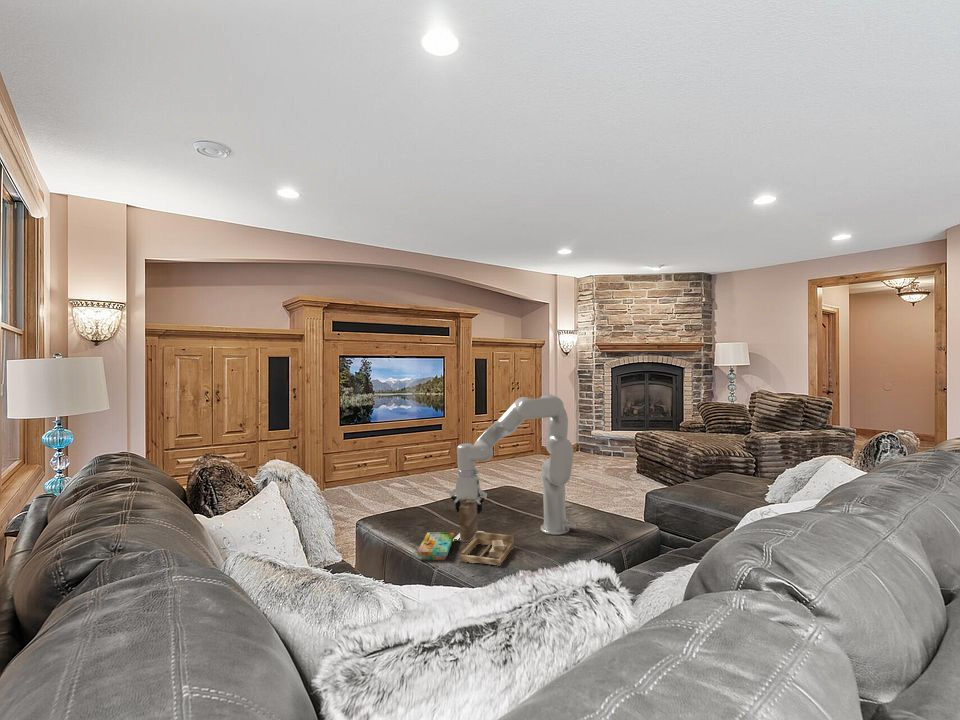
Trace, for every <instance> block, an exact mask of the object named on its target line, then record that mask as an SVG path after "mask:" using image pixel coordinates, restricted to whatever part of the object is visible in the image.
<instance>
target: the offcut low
mask: <svg viewBox="0 0 960 720" xmlns="http://www.w3.org/2000/svg"><path fill="white" fill-rule="evenodd" d="M506 547H507V546H506V545H504V550H505V549H506ZM502 553H503V551H497V552H494V550H493V547H492V546H491V548H490V549H489V550H488V554H489V556H492V557H499V556H500V555H501V554H502Z"/></svg>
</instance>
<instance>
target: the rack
mask: <svg viewBox="0 0 960 720" xmlns="http://www.w3.org/2000/svg"><path fill="white" fill-rule="evenodd" d="M514 536H515V535H513V534H504V533H503V534H501V533H492V532H485V531H483V532H475V538H474V539H473V540H472V541H471V542H470V543H468V545H466V547H465V548H463V550H461V552H460V555H459V563H460V562H461V563H467V562H469V563H468V564H474V563H485V564H494V565H500V564H501V563H502V562H503V560H504V559H505V557H506V556H507V555H508V553H509V552H510V551H511V550H512V548H513V547H514V548H515V544H514V543H515V540H514V539H515V538H514ZM492 540H502V541H503V544H504V545H506V546H507V547H506V549H505V550H504V551H503V553H502V554H501V555H500V556H499V558H498V559H495V558H489V557H485V556H483V557H482V555H483V554H484V553H485V552H486V550H487V549H488V548H489V547H490V546H491V545H492ZM478 543H480V544H489V545H488V546H486V548H485V549H484V550H483V552H481V554H480V555H479V556H478V555H470V554H471V553H472V552H473V551H472V549H473V548H474V547H475V546H476V545H477V544H478ZM491 547H492V546H491ZM514 548H513V549H514ZM471 551H472V552H471ZM512 551H513V550H512ZM512 551H511V552H512ZM470 552H471V553H470ZM511 552H510V553H511ZM469 553H470V554H469ZM468 554H469V555H468ZM508 556H509V555H508ZM505 560H506V559H505ZM503 563H504V562H503ZM503 563H502V564H503Z"/></svg>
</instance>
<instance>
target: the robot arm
mask: <svg viewBox="0 0 960 720" xmlns="http://www.w3.org/2000/svg"><path fill="white" fill-rule="evenodd" d="M564 405H565V404H564V402H563V400H562V399H561V398H559V397H558V396H556V395H553V394H550V393H549V394H548V393H547V394H546V393H545V394H543V395H541V396H540V397H539V398H538V397H537V398H529V397H526V396H521V397H518V398H517V399H516V400H515V401H514V402H513V403H512V404H511V405H510V406H509V407H508V409H507V410H505V412H504V413H502V415H501V416H500V417H499V418H498V419H497V420H496V421H495V422H493V424H491V425H490V426H489V427H488V428H486V429H485V431H483V433H482V434H481V435H480V436H479V437H478V438H477V439H476V441H475V442H474V444H473V443H460V444H458V445H457V447H456V455H457V456H456V457H457V458H456V459H457V476H456V481H455V482H456V483H455V488H454V489H453V490H450V491H449V492H448V494H449V496H450V498H451V499H452V501H453V503H454V504H455V511H456V513H459V507H460V506H461V505H462V504H461V501H460V500H465V501H467V500H473V501H476V508H477V514H478V515H479V514H481V513H482V511H483V502H485V500H486V498H487V497H488V493H487V492H485V491H484V490H481V484H480V479H479V476H478V474H479V472H480V471H479V470H477V468H476V462H487V461H489V460H491V459H492V458H493V456H494V450H493V448H494V446H495V445H496V444H497V443H498V442H500V441H501V440H502V439H503V438H506V437H508V436H510V435H512V434H514V433H515V431H516V430H517V429H518V428H519V426H521V425H522V423H524V421H525V420H531V419H532V420H533V419H536V420H537V419H545V418H547V420H548V426H547V429H548V430H547V436H546V443H545V448H546V451H547V452H548V454H550V457H549V458H547V459H545V460H544V461H543V463H542V465H541V480H542V489H543V490H542V493H543V494H542V495H543V496H542V497H543V498H542V500H543V501H542V503H543V524H541V525H540V531H541V532H543V533H544V534H547V535H555V536H557V535H564V534H567V533H569V532H570V529H576V528H577V527H576V526H577V525H576V523H575V522H573V521H572V522H571V521H568V518H566V488H565V487H566V484H567V483H569V481H570V478H571V475H572V469H573V467H572V466H573V459H574V447H573V444H572V442H571V441H570V440H569V439H568V429H569V418H568V414H567V411H566V409H565V406H564ZM481 496H482V498H481Z"/></svg>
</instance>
